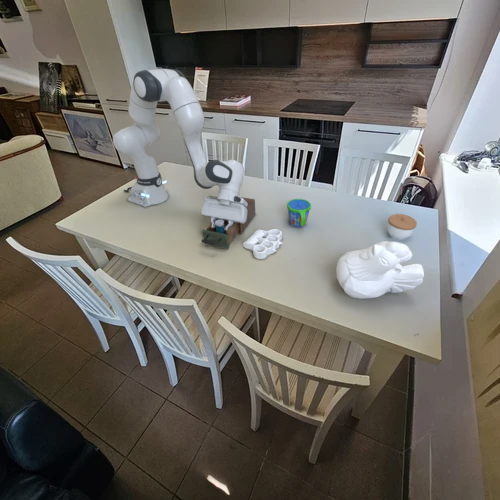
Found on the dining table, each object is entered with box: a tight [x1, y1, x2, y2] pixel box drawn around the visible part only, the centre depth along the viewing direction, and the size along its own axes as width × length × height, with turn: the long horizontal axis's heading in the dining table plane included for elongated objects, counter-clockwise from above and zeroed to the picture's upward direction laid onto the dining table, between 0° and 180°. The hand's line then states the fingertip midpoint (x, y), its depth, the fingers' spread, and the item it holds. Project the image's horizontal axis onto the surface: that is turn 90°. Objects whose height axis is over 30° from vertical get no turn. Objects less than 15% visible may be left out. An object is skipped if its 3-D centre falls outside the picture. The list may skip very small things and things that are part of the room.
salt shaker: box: [215, 219, 226, 234], centre depth 119 cm, size 4×4×8 cm
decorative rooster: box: [335, 240, 425, 300], centre depth 88 cm, size 25×16×25 cm
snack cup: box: [286, 198, 312, 228], centre depth 128 cm, size 16×10×10 cm
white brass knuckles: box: [242, 228, 284, 260], centre depth 118 cm, size 3×18×15 cm
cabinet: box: [237, 196, 256, 235], centre depth 132 cm, size 18×13×9 cm
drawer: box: [200, 219, 239, 250], centre depth 120 cm, size 21×11×7 cm, turn 158°
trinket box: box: [386, 213, 418, 241], centre depth 117 cm, size 11×11×9 cm
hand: (219, 229), depth 118 cm, fingers open, 4 cm apart
